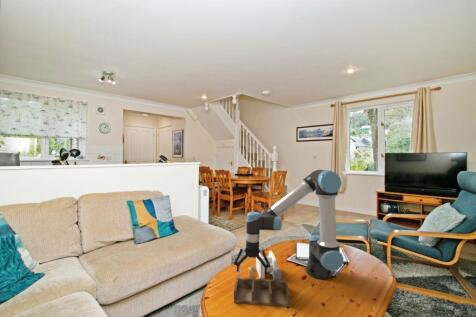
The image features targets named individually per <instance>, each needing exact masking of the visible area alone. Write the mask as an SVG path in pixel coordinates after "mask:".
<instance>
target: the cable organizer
mask: <svg viewBox="0 0 476 317" xmlns="http://www.w3.org/2000/svg"><path fill="white" fill-rule="evenodd" d="M259 255H260V257H261V258H262V260H263V261H264V262H265V263H266V261H265V259H264V257H263V255H262V254H261V252H260V253H259ZM266 256H267V259H268V261H269V263H270V268H269V267H268V268H267V273H269V275H272V276H273V270H274V269H276V268H278V266H277V264H278V262H277V258H276V257H275V256H276V255H275V254H274V253H273V251H272V250H269V251H268V255H266ZM255 261H256V262H255V268H256V273H257V274H258V277H259V279H263V265H262V264H261V262H260V261H259V260H258V259H257V257H255ZM266 264H267V263H266Z"/></svg>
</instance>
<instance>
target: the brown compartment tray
mask: <svg viewBox="0 0 476 317" xmlns="http://www.w3.org/2000/svg"><path fill="white" fill-rule="evenodd" d="M233 303H235V304H236V303H237V304H247V305H249V304H250V305H261V306H262V305H263V306H275V307H289V308H290V307H291V293H290V289H289V283H288V281H287V280H282V281H280V280H273V279H263V278H256V279H249V278H248V277H247V278H246V277H245V278H244V277H240V278H239V277H236V278H235V283H234V289H233Z"/></svg>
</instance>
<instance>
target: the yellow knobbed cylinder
mask: <svg viewBox="0 0 476 317" xmlns="http://www.w3.org/2000/svg"><path fill="white" fill-rule="evenodd" d="M247 271H248V272H247V278H249V279H257V269H256V266H253V265H251V266H250V267H248V268H247Z"/></svg>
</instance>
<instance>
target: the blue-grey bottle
mask: <svg viewBox="0 0 476 317" xmlns="http://www.w3.org/2000/svg"><path fill="white" fill-rule="evenodd" d="M282 276H283V271H282V269H280V268H279V267H277V268H276V269H274V270H273V275H272V277H273V278H272V280H280V281H283V280H282V279H283V278H282Z"/></svg>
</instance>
